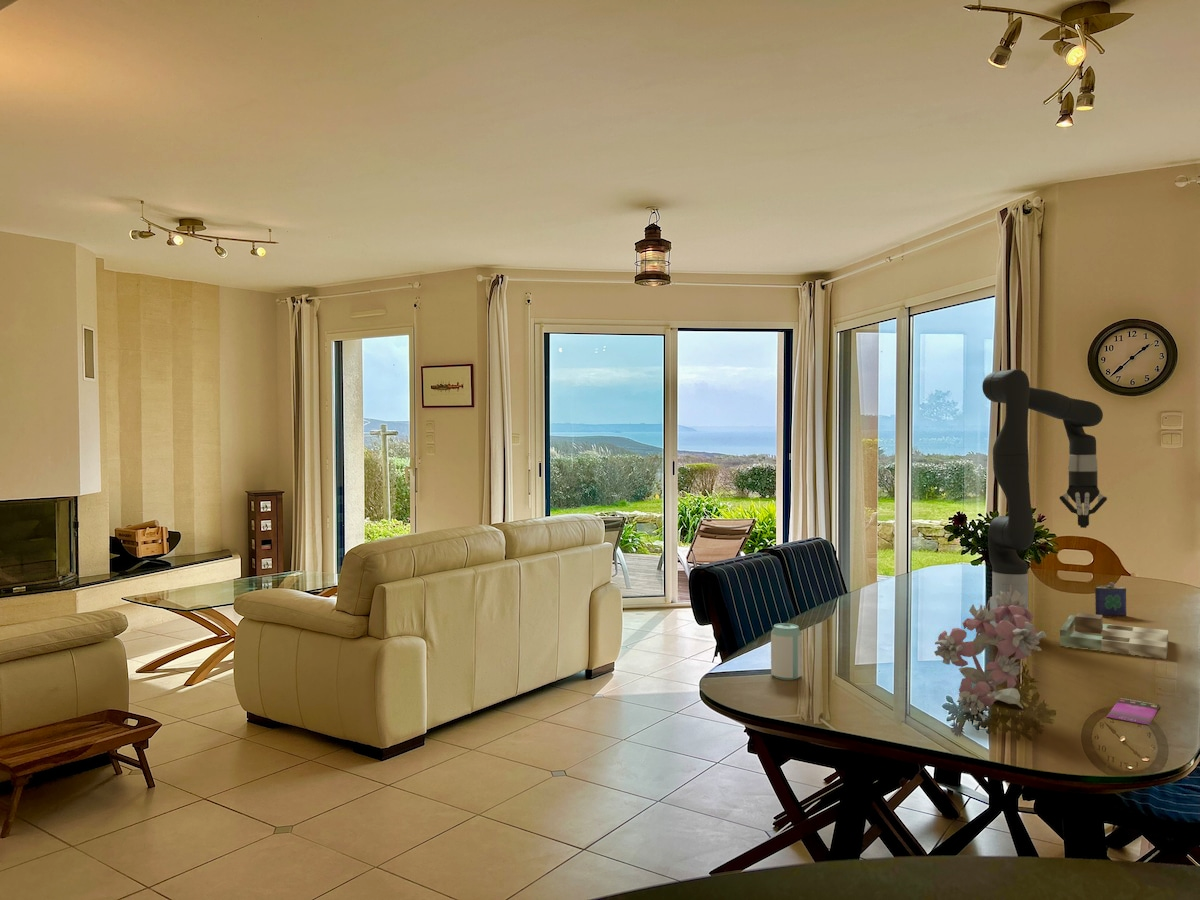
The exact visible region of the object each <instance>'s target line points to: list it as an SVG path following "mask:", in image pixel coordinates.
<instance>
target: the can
mask: <svg viewBox="0 0 1200 900" xmlns="http://www.w3.org/2000/svg"><path fill="white" fill-rule="evenodd" d="M802 635H803V634H802V632H801V630H800V627H799V625H797V624H794V623H784V622H783V623H775V624H774V625H773V627H772V630H771V631H770V673H771V675H772V676H774V677H775V678H776V679H779V680H784V681H793V680H794V681H795V680H798V678H800V677H802V675H803V663H802V662H803V660H802V659H803V655H802V654H803V653H802V651H803V649H802V647H803V645H802V643H803V642H802V641H803V640H802V639H803V638H802V637H803V636H802Z"/></svg>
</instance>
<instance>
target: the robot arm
mask: <svg viewBox="0 0 1200 900" xmlns="http://www.w3.org/2000/svg"><path fill="white" fill-rule="evenodd" d="M1030 385H1031V384H1030V380H1029V377H1028V375H1027V373H1026V372H1025V371H1024V370H1022V369H1018V368H1016V369H1005V370H997V371H993V372H991V373H988V374H987V375H986V376H985V377H984V379H983V381H982V387H981V388H982V392H983V395H984V396H985V397H986V398H987V399H988V400H989V401H991V402H993V403H997V404H998V403H999V404H1005V419H1004V422H1003V425H1002V428H1001V429H1000V431H999V433H998V436H997V437H996V439H995V442H994V445H993V447H992V468H993V473H994V476H995V479H996V481H997V484H999V486H1000V488H1001V490H1002V492H1003V494H1004V497H1005V499H1006V503H1007V509H1008V511H1007V512H1008V515H999V516H996V517H993V519H991V521H990V523H989V525H988V531H987V532H988V533H987V541H988V558H989V562H990V564H991V569H992V571H991V573H992V576H991V577H992V578H991V579H992V584H991V585H992V586H991V590H992V592H991V593H992V594H991V595H992V596H990V597H989V600H990V602H989V610H990V611H991V610H992V609H996V608H998V607H1001V606H1000V605H999V604H998V603H996V598H995V597H996V596H997V595H999V596H1000V597H1001V595H1000V591H1002V592H1003V593H1005V592H1006V594H1007V592H1009V594H1010V585H1011V596H1012V595H1013V591H1014V590H1016V591H1018V592H1019V593H1020V594H1021V595H1020V597H1021V596H1022V595H1023V594H1024V596H1025V599H1026V601H1025V604H1024V605H1022V606H1020V607H1023V608H1024V609H1026V610H1028V611H1029V565H1028V563H1027V562H1026V561H1025V560H1023V559H1022V558H1020V557H1019V555H1018V553H1017V551H1025V550H1027V549H1029V548H1030V547H1031V546H1032V544H1033V543H1034V542H1033V541H1034V538H1035V526H1034V525H1035V524H1034V518H1033V517H1034V516H1033V510H1032V503H1031V492H1030V472H1029V470H1030V462H1029V460H1030V458H1029V444H1028V442H1029V441H1028V437H1029V435H1028V426H1029V425H1028V423H1029V422H1028V421H1029V419H1028V418H1029V410H1032V411H1034V412H1035V411H1036V412H1037V413H1041V414H1044V415H1046V416H1049V417H1051V418H1055V419H1057V420H1062V422H1063V425H1064V428H1065V432H1066V436H1067V438H1068V442H1069V444H1068V445H1069V446H1068V448H1069V449H1068V450H1069V451H1068V452H1069V453H1068V454H1069V455H1068V456H1069V457H1068V467H1067V470H1068V488H1067V490H1066V493H1064V494H1063V495H1060V496H1059V501H1061V503H1062V504H1064V505H1065V507H1066V508H1067V509H1068V510H1069V511H1070V512H1071V513H1072V514H1076V515H1077V526H1080V528H1085V529H1086V528H1087V527H1089V526H1090V516H1091V515H1092V514H1095V513H1096V512H1097V511H1098V510H1099V509H1100V508H1101V507H1102V506H1103V505H1104V504H1105V503H1106V502H1107V500H1108V496H1104V495H1103V494H1102V493H1101V491H1100V489H1099V487H1098V486H1099V485H1098V483H1099V482H1098V459H1097V439H1096V437H1095V436H1094V435H1092V434H1087V433H1086V432H1085V429H1084V428H1086V427H1087V428H1089V427H1096V426H1097V425H1099V424H1100V423H1101V422H1102V421H1103V417H1104V413H1103V410H1102V408H1101V407H1100V405H1098V404H1096V403H1095V402H1092V401H1087V400H1084V399H1078V398H1073V397H1069V396H1067V395H1064V394H1061V393H1059V392H1057V391H1052V390H1048V389H1043V388H1036V387H1031V386H1030ZM1069 497H1070V498H1069ZM1096 498H1097V500H1096ZM1070 499H1071V500H1072V501H1073V502H1074V503H1075V507H1076V508H1075V507H1074V505H1072V503H1071V502H1070V501H1069V500H1070ZM1095 500H1096V501H1097V503H1096V504H1095V505H1094V506H1093V507H1092V509H1091V504H1092V503H1093V502H1094V501H1095ZM1083 508H1084V509H1083ZM990 608H991V609H990ZM1023 617H1025V616H1023ZM1025 618H1026V617H1025ZM1004 620H1006V621H1009V622H1010V620H1009V619H1008V616H1006V617H1005V619H1004ZM989 623H990V624H992V625H993V626H994V627H995V628H996V626H997V625H998V624H997V623H996V622H995V621H990V622H989ZM1016 627H1017V626H1016Z"/></svg>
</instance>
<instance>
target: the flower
mask: <svg viewBox="0 0 1200 900" xmlns="http://www.w3.org/2000/svg"><path fill="white" fill-rule="evenodd" d="M1000 595H1001V597H1000V596H999V595H997V596H996V597H995V598H996V603H998V604H999V605H1000V606H1001V607H998V608H996V609H992V610H991V611H990V609H991V608H990V607H989V605H990V599H987V604H986V606H985V605H982V604H979V608H978V609H977V608H976V607H975V605H974V603H972V605H971V607H970V609H969V611H968V612H969V613H970V615H972V617H974V618H970V617H968V618H965V620H964V621H963V622H962V623H961V624H962V627H963V629H962V628H959V627H954V628H952V629H951V631H950V634H949V635H948V632H947V631H946V630H944V631H942V632H941V633H939V635H938V638H937V641H935V642H934V645H937V647H936V650H935V651H933V652H934V655H935V656H936V657H937V656H940V657H941V658H942V664H945V665H948V666H949V665H950V664H951V663H952V665H954V666H956V667H959V668H958V670H959V672H960V674H962V676H963V678H961V681H960V686H959V688H958V691H959V693H958V696H959V697H958V699H957V701H956V703H958V704H959V706H958V708H960V707H962V710H961V712H962V713H965V712H968V711H969V710H970V711H971V712H970V715H972V716H973V715H977V714H979V713H981V711H982V710H983V709H984V708H985V707H990V706H993V704H994V702H996V701H1000V702H1002V703H1006V704H1008V705H1017V706H1018V707H1019V708H1021V709H1022V710H1023V709H1024V707H1023V705H1022V704H1021V702H1020V700H1021V694H1020V692H1019V689H1017V688H1015V686H1017V682H1018V677H1017V676H1019V674H1020V672H1021V671H1020V669H1021V668H1022V666H1020V664H1019V663H1020V661H1017V662H1015V661H1016V660H1025V659H1026V658H1028V657H1032V650H1033V651H1038V652H1040V651H1043V650H1042V648H1041V647H1040V646H1039V644H1040V640H1041V639H1042V638H1047V637H1048V636H1047V634H1046V632H1045V631H1044V630H1041V631H1040V632H1038V631H1037V630H1036V628H1035V627H1034V626H1035V624H1032V621H1033V619H1034V616H1033V614H1032V612H1031V610H1029V609H1028V610H1026V609H1024V608H1023V607H1020V606H1022V605H1024V604H1025V601H1026V599H1025V596H1024V594H1023V595H1022V596H1021V597H1020V595H1021V594H1020V593H1019V592H1018V591H1016V590H1014V591H1013V595H1012V596H1011V585H1010V594H1009V592H1007V594H1006V592H1005V593H1003V592H1002V591H1000ZM1006 616H1008V619H1009V620H1010V622H1009V621H1006V620H1004V619H1005V617H1006ZM1023 616H1025V617H1026V618H1025V617H1023ZM990 621H995V622H996V623H997V624H998V625H997V626H996V628H995V627H994V626H993V625H992V624H990ZM1016 626H1017V627H1016ZM974 629H975V633H976V634H975V638H974V639H973V640H972V641H964V640H965V639H966V638H967V631H966V630H969V631H971V632H972V631H973V630H974ZM990 645H992V646H996V647H997V652H996V655H995V659H994V661H990V662H989V663H986V665H985V671H990V672H989V674H988V675H986V674H985V673H984V670H983V668H982V665H981V664H980V662H979V660H978V658H977V656H979V655H980V654H982V653H983V652H984V650H986V649H987V648H988V646H990ZM1013 654H1014V656H1013V657H1011V656H1012V655H1013ZM962 657H966V658H972V659H973V662H974V666H975V667H970V666H967V665H969V662H968V661H966V660H965V659H964V658H962ZM1009 657H1010V659H1009ZM1005 682H1006V686H1007V687H1006V688H1004V689H1002V688H1001V689H998V690H997V686H999V685H1001V684H1003V683H1005ZM973 684H974V687H973V686H972V685H973ZM978 711H979V712H978Z"/></svg>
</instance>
